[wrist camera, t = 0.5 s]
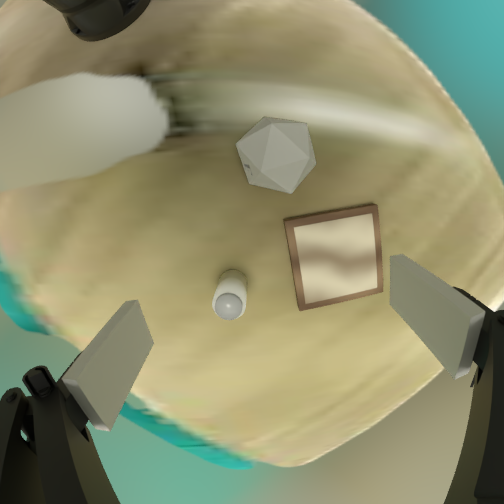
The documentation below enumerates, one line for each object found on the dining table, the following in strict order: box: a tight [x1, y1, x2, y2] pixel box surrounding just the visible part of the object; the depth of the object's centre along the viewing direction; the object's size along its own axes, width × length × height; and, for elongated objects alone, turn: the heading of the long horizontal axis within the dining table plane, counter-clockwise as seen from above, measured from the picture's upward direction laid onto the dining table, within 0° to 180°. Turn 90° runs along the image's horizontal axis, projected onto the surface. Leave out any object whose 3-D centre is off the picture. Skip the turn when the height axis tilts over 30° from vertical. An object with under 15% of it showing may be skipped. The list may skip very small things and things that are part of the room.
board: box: [284, 204, 383, 311], centre depth 38 cm, size 13×13×2 cm
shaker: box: [212, 270, 247, 320], centre depth 36 cm, size 4×4×8 cm
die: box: [236, 117, 316, 194], centre depth 31 cm, size 8×9×10 cm
